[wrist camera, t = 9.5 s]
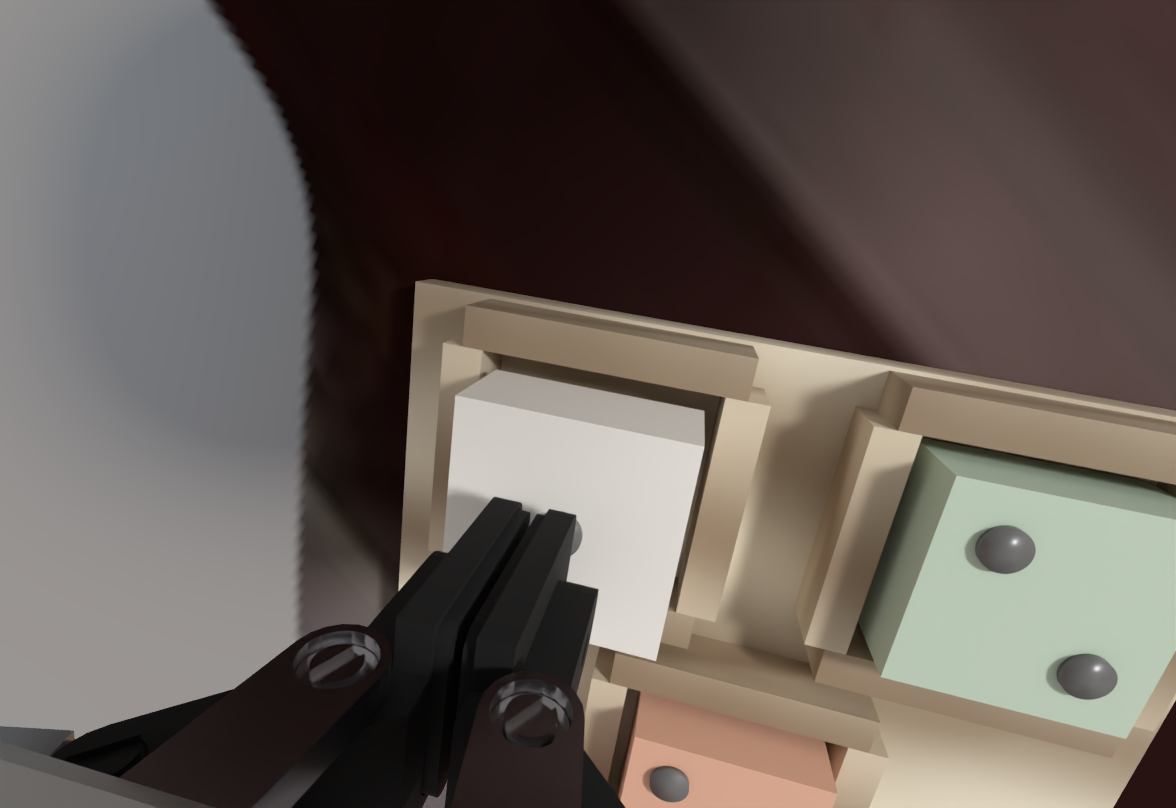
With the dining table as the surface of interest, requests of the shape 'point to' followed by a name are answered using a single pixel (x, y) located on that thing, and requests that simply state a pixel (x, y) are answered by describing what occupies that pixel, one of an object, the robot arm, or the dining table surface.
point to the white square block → (585, 487)
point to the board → (794, 537)
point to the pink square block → (719, 761)
